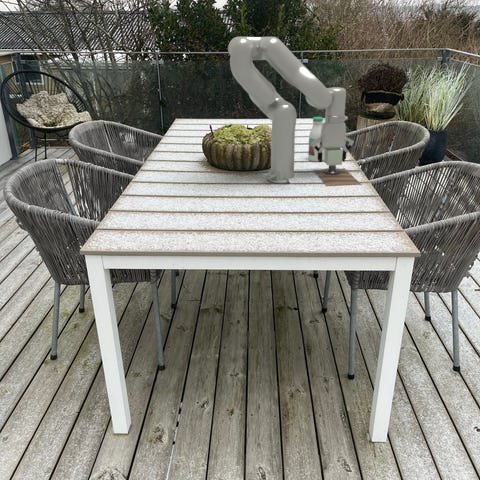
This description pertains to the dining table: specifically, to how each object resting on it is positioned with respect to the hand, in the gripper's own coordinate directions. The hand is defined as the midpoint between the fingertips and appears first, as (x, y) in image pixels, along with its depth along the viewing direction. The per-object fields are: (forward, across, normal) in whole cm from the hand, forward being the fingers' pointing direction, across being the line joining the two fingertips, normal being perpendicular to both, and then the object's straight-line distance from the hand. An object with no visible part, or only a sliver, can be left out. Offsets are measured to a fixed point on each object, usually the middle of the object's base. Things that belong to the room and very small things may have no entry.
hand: (331, 161), depth 196 cm
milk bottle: (+7, 0, -28) cm, 29 cm away
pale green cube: (+1, -1, 0) cm, 1 cm away
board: (+6, -1, +6) cm, 9 cm away
